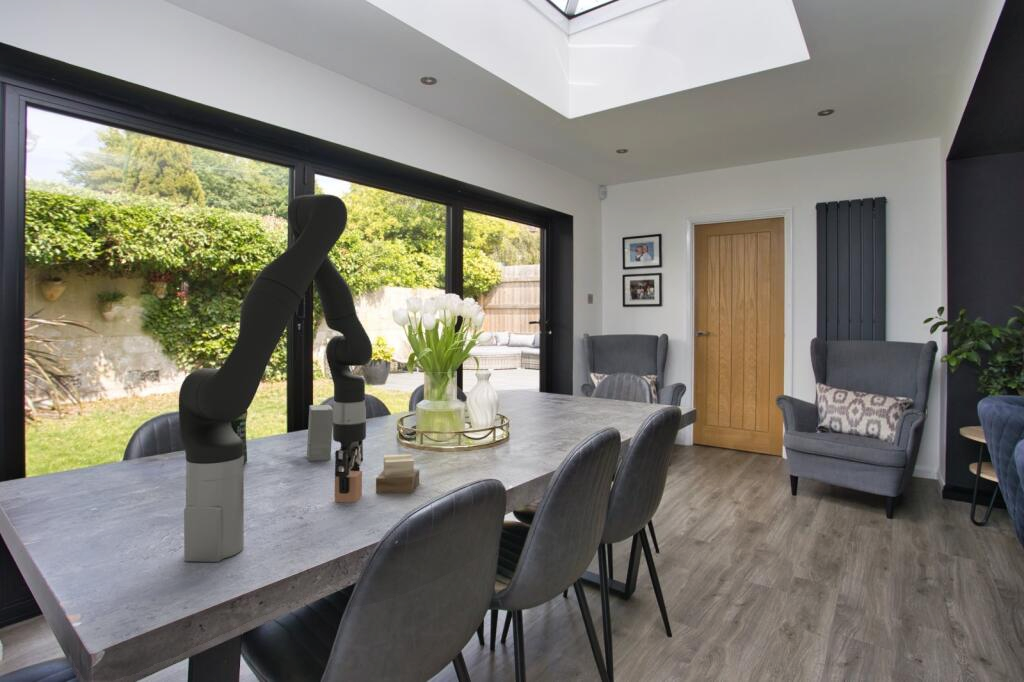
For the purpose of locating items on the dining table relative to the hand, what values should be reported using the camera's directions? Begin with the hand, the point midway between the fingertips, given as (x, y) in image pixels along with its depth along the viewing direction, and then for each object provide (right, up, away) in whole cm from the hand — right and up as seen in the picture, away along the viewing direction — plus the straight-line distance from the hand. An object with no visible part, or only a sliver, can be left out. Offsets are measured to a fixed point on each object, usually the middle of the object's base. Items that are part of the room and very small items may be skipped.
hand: (349, 487), depth 132 cm
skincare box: (-20, -1, +38) cm, 43 cm away
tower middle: (+10, +1, +9) cm, 13 cm away
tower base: (+10, -3, +9) cm, 13 cm away
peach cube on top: (0, -3, 0) cm, 3 cm away
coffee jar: (-42, -1, +27) cm, 50 cm away
